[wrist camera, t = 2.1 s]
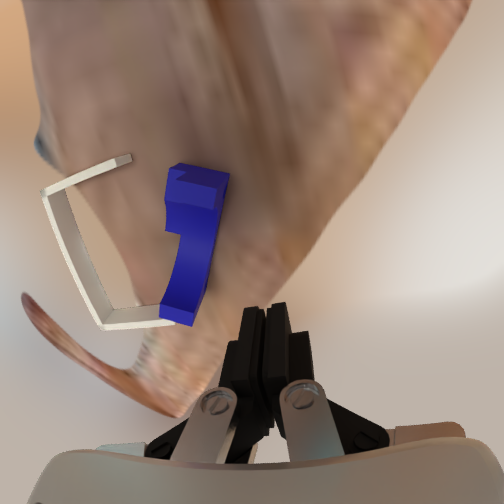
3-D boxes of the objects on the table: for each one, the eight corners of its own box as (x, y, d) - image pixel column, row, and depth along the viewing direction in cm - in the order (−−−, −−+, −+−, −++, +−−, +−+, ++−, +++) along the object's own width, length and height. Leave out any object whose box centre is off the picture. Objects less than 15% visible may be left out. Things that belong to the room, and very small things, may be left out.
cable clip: (180, 162, 25) (154, 175, 20) (230, 173, 25) (217, 188, 20) (164, 278, 30) (142, 312, 25) (206, 289, 30) (191, 326, 25)
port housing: (57, 183, 26) (39, 191, 24) (130, 153, 25) (114, 158, 22) (111, 315, 33) (100, 330, 30) (183, 307, 31) (175, 324, 28)
